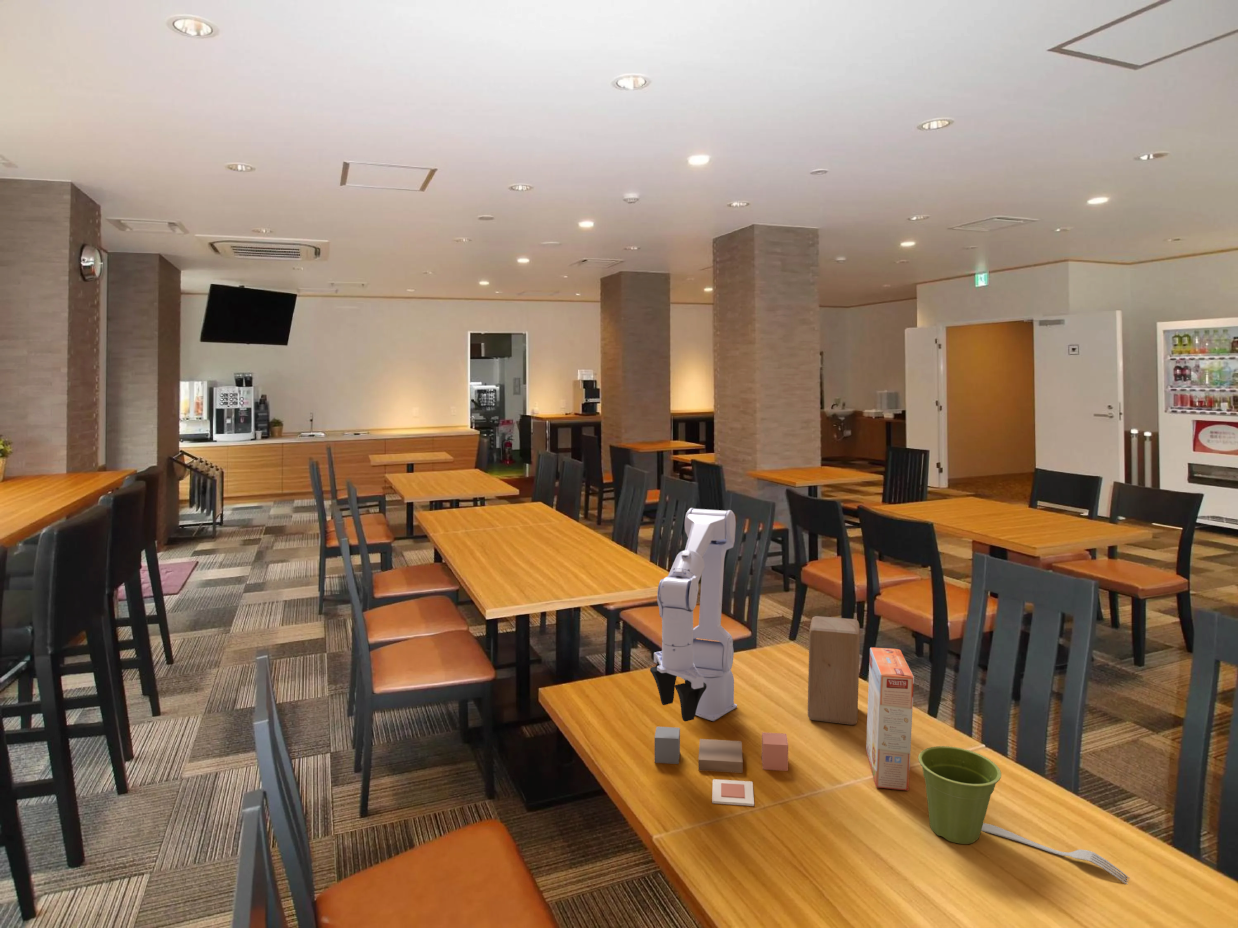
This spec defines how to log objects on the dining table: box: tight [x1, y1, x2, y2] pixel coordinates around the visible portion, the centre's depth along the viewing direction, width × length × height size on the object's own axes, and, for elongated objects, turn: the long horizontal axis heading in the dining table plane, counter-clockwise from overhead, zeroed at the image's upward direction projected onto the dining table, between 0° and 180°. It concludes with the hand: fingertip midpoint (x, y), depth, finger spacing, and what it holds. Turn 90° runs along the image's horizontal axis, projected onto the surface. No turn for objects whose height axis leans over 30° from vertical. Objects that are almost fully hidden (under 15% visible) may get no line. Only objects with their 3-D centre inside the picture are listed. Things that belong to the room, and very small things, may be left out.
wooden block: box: [807, 615, 861, 726], centre depth 159 cm, size 10×10×20 cm
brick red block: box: [761, 731, 789, 772], centre depth 140 cm, size 4×4×5 cm
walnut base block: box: [697, 738, 744, 774], centre depth 141 cm, size 8×8×2 cm
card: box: [711, 778, 755, 807], centre depth 130 cm, size 7×7×1 cm
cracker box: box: [865, 647, 915, 791], centre depth 136 cm, size 14×6×21 cm, turn 168°
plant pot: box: [917, 745, 1002, 845], centre depth 118 cm, size 12×12×11 cm
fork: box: [981, 822, 1130, 885], centre depth 114 cm, size 3×21×3 cm, turn 48°
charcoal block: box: [654, 726, 681, 765], centre depth 143 cm, size 4×4×5 cm
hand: (677, 711), depth 140 cm, fingers open, 7 cm apart
